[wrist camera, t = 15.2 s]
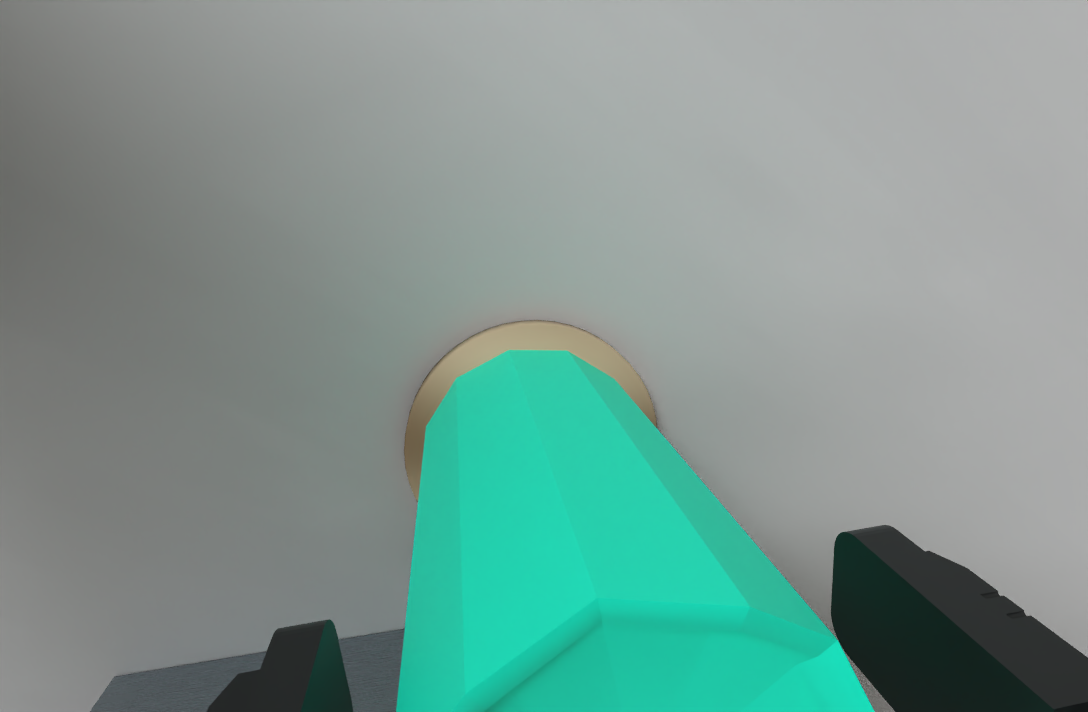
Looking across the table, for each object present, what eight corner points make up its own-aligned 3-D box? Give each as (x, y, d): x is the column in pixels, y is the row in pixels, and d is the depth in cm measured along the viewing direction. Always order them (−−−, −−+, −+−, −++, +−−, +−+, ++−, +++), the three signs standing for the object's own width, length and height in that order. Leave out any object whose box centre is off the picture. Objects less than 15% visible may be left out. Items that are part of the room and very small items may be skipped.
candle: (654, 517, 18) (1010, 1094, 7) (453, 572, 18) (458, 1300, 6) (618, 322, 16) (1016, 642, 5) (394, 377, 16) (248, 878, 4)
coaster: (388, 335, 16) (385, 340, 16) (646, 307, 17) (653, 311, 16) (423, 566, 18) (423, 579, 17) (654, 531, 19) (661, 542, 18)
